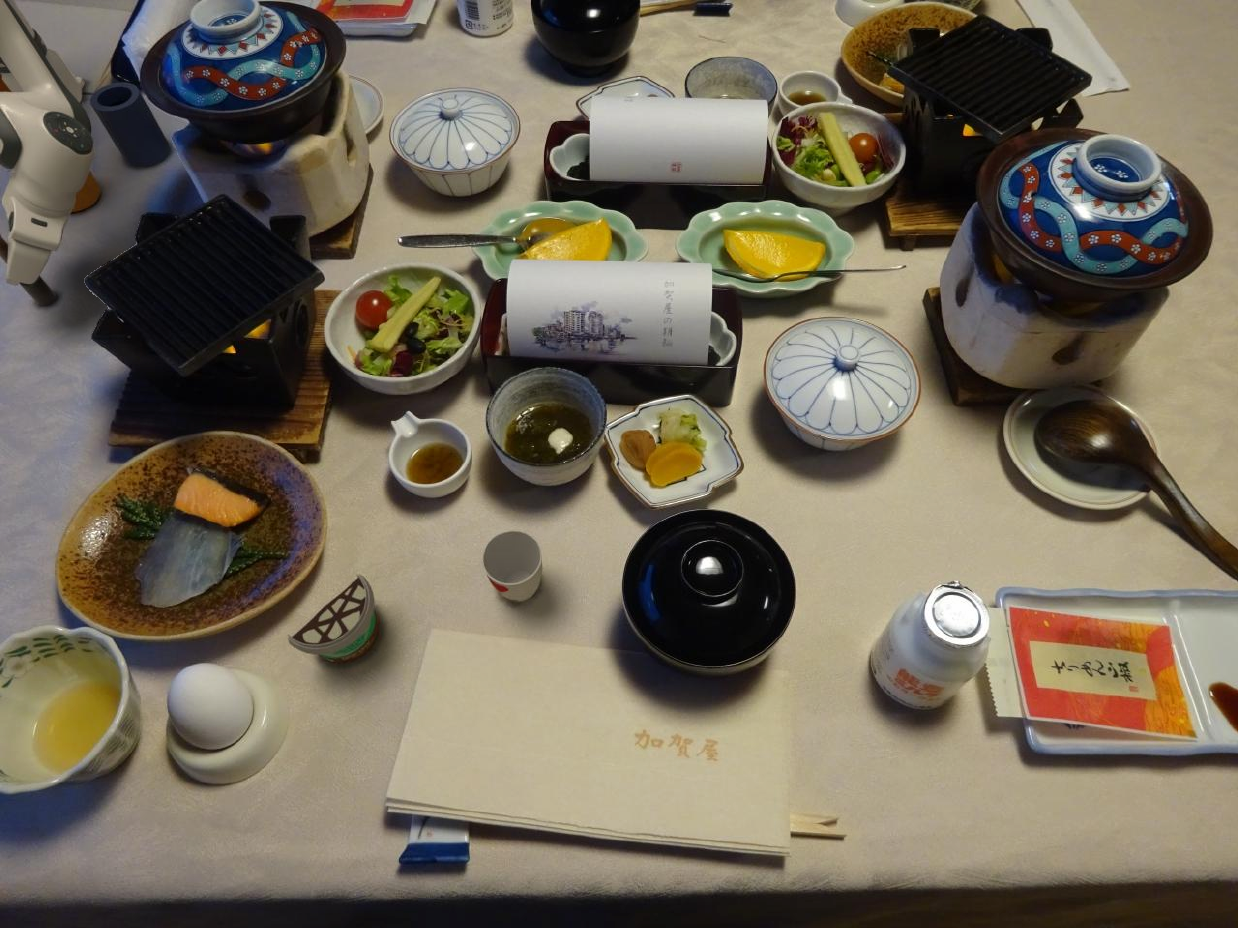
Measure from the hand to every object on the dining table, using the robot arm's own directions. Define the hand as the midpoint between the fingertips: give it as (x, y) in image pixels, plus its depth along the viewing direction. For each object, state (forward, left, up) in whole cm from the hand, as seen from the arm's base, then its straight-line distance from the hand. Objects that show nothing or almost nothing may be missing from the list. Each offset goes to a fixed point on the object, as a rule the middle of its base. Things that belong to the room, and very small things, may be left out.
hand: (12, 263), depth 136 cm
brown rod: (0, 0, -9) cm, 9 cm away
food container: (+92, -19, -9) cm, 95 cm away
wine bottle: (-18, +21, -9) cm, 29 cm away
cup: (+106, 0, -9) cm, 107 cm away
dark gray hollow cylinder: (-17, +38, -9) cm, 43 cm away
